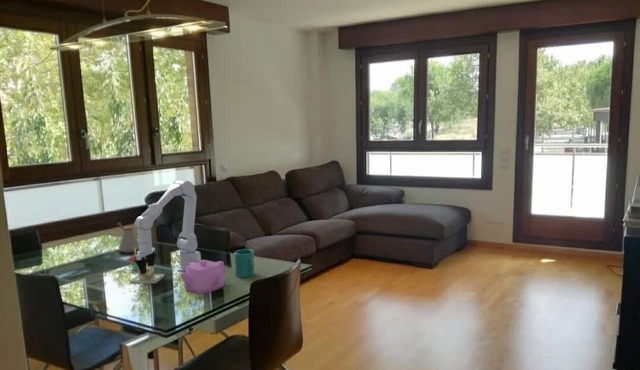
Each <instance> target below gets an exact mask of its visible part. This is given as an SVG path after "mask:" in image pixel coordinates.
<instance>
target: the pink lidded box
mask: <svg viewBox="0 0 640 370" xmlns="http://www.w3.org/2000/svg"><path fill="white" fill-rule="evenodd" d="M225 273H226V270H225V263H224V261H222V260H219V261H211V260H207V259H201V261H199V263H189V266H187V267H186V269H185V271H184V272H182V273H180V277H181V278H182V280H183V285H184V289H185V291H187V292H189V291H190V293H192V294H196V295H200V296H201V295H204V294H205V295H206V294H208V293H211V292H214V291H215V292H216V290H217V291H218V290H219V289H221V288H224V285H225V275H224V274H225Z"/></svg>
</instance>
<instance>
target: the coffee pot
mask: <svg viewBox="0 0 640 370" xmlns="http://www.w3.org/2000/svg"><path fill="white" fill-rule="evenodd" d="M117 225H118V226H119V227H120V228H121V229H122V232H123V234H122V238H121V240H120V242H119V246H118V249H119V251H121V252H122V253H124V254H131V253H135V252H134V247H135V249H136V252H138V251H139V244H138V237H136V234H135V233H134V232H135V228H133V227H129V228H124V226H123V225H122V223H121V222H120V221H118V222H117Z"/></svg>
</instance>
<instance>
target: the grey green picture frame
mask: <svg viewBox="0 0 640 370" xmlns="http://www.w3.org/2000/svg"><path fill="white" fill-rule="evenodd" d="M165 277H166V275H165V273H154V277H153V278H151V279H150V280H139V274H138V275H136V276H135V277H133V278H131V279H130V280H129V283H130V284H157V283H158V282H159V281H161V280H162V279H163V278H165Z"/></svg>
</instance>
